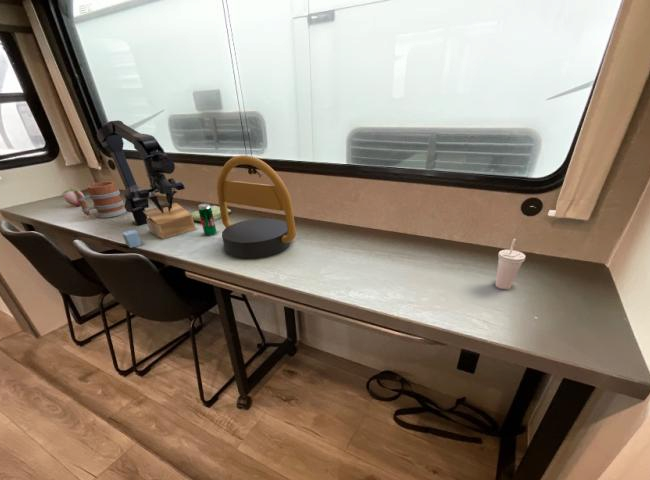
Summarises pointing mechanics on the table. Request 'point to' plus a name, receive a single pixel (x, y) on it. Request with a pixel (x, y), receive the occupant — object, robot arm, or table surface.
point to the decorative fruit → (72, 196)
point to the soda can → (207, 219)
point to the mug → (103, 200)
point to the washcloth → (215, 213)
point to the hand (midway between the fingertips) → (165, 209)
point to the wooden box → (171, 227)
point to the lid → (167, 213)
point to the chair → (257, 233)
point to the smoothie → (508, 266)
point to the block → (132, 238)
